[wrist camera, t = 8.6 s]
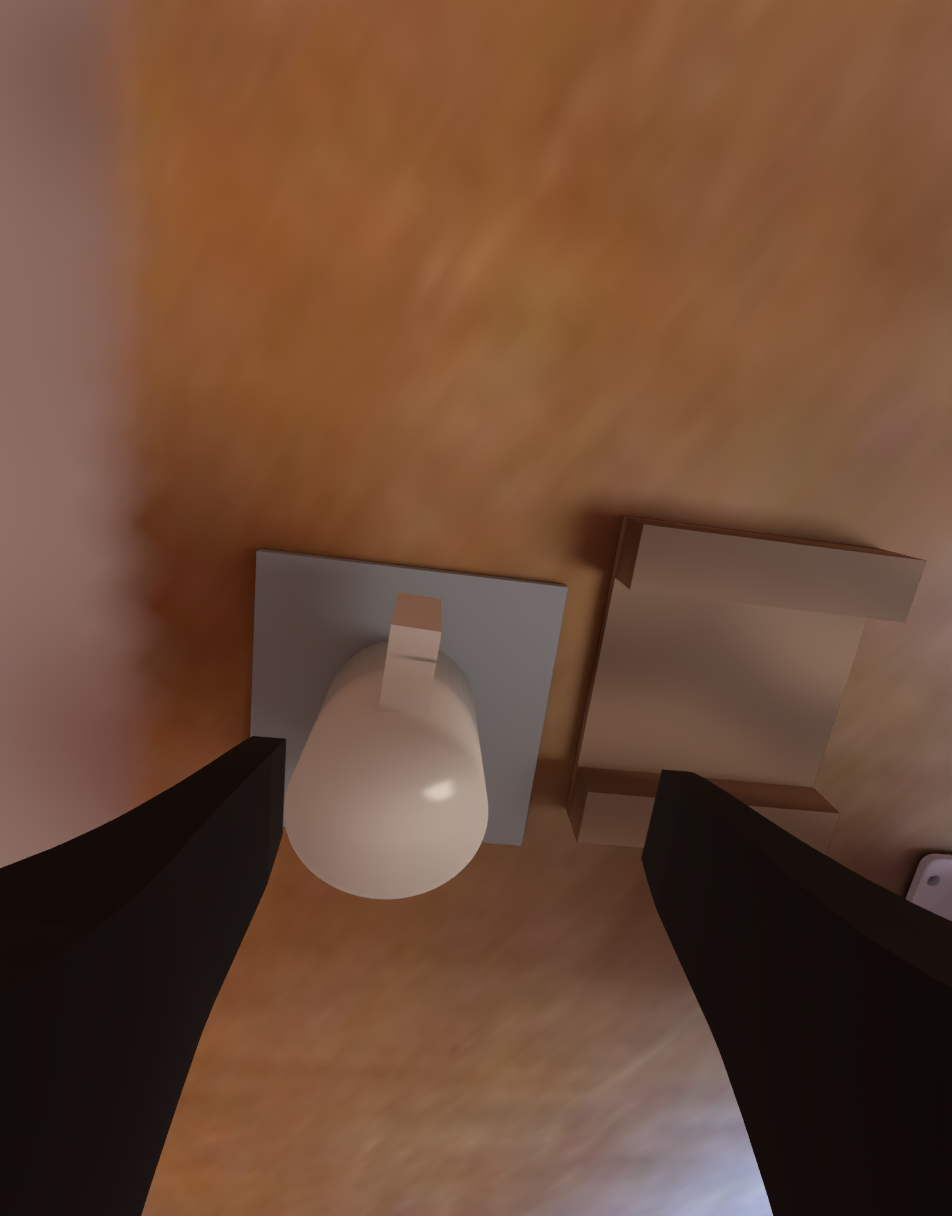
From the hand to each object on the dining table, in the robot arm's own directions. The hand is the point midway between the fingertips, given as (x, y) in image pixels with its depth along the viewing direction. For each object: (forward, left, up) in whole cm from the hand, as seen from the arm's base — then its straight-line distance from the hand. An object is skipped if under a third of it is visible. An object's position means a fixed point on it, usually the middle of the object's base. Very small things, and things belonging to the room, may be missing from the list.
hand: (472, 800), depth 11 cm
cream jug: (-1, +2, -9) cm, 9 cm away
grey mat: (-3, +2, -9) cm, 10 cm away
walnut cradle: (-1, -9, -9) cm, 13 cm away
